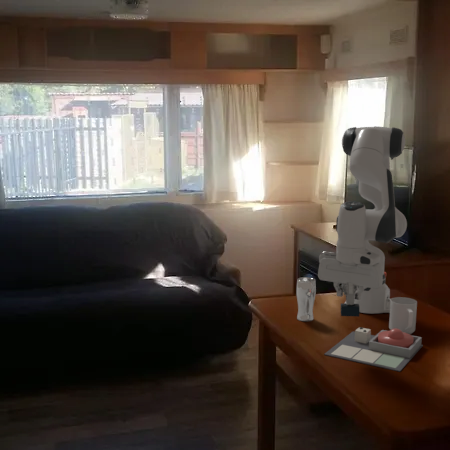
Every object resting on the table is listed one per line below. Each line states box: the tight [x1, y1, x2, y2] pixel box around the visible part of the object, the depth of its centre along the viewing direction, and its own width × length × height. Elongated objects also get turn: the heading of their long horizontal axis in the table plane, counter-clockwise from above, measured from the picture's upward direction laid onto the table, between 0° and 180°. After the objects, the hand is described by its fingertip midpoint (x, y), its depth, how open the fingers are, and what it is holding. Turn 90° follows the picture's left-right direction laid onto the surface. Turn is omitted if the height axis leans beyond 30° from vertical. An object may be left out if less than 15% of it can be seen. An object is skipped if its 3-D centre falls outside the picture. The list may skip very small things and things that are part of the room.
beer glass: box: [296, 276, 317, 322], centre depth 231 cm, size 7×7×15 cm
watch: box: [340, 282, 360, 317], centre depth 197 cm, size 6×8×11 cm
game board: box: [324, 326, 424, 373], centre depth 201 cm, size 25×24×4 cm
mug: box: [388, 296, 418, 335], centre depth 217 cm, size 12×9×11 cm
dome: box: [377, 328, 414, 348], centre depth 203 cm, size 11×11×6 cm
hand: (348, 297), depth 197 cm, fingers closed on watch, 4 cm apart
